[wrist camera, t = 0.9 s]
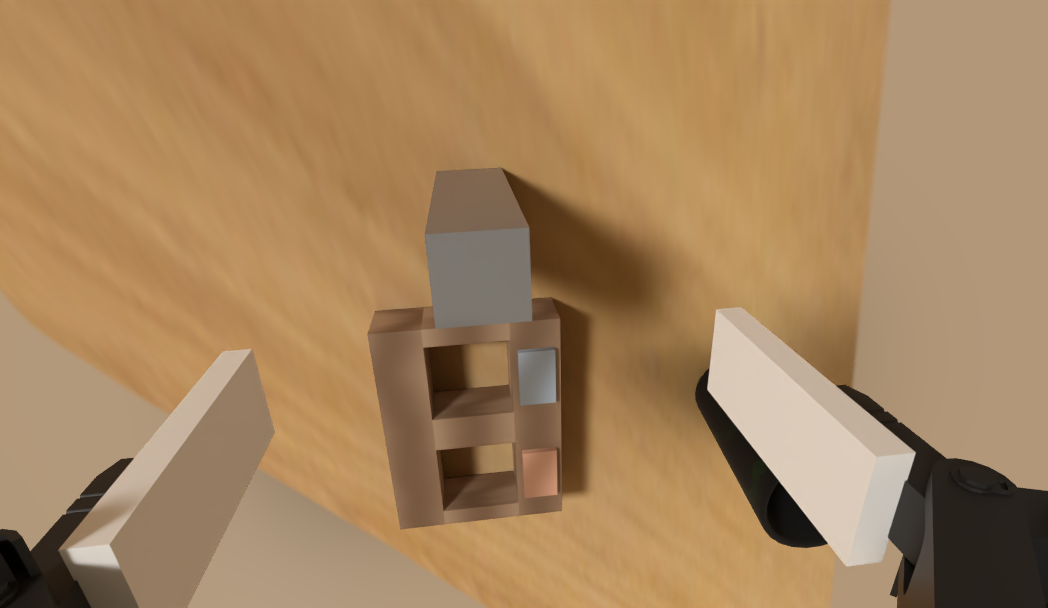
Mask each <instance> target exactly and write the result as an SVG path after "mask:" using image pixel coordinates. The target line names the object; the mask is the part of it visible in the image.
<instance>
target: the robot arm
mask: <svg viewBox="0 0 1048 608" xmlns="http://www.w3.org/2000/svg"><path fill="white" fill-rule="evenodd" d="M707 390H708V391H709V392H710V394H711V395H712V396H713V397H714V399H715V400H716V401H717V402H718V404H719V405H720V406H721V408H722V409H723V410H724V411H725V413H726V414H727V415H728V416H729V418H730V419H731V420H732V422H733V423H734V424H735V425H736V427H737V428H738V429H739V430H740V432H741V433H742V434H743V436H744V437H745V438H746V439H747V441H748V442H749V443H750V444H751V446H752V447H753V448H754V450H755V451H756V452H757V453H758V455H759V456H760V457H761V458H762V460H763V461H764V462H765V464H766V465H767V466H768V467H769V469H770V470H771V471H772V473H773V474H774V475H775V476H776V478H777V479H778V480H779V481H780V483H781V484H782V485H783V487H784V488H785V489H786V490H787V492H788V493H789V494H790V495H791V497H792V498H793V499H794V501H795V502H796V503H797V504H798V506H799V507H800V508H801V509H802V511H803V512H804V513H805V515H806V516H807V517H808V518H809V520H810V521H811V522H812V523H813V525H814V526H815V527H816V529H817V530H818V531H819V532H820V534H821V535H822V536H823V538H824V539H825V540H826V541H827V543H828V544H829V545H830V546H831V548H832V549H833V550H834V552H835V553H836V554H837V555H838V557H839V558H840V559H841V560H842V562H843V563H844V564H845V565H846V566H854V565H861V564H869V563H876V562H882V559H883V556H884V553H885V549H886V546H887V543H888V540H889V539H890V540H891V541H892V543H893V544H894V545H895V546H896V547H897V548H898V549H899V550H900V551H901V552H902V553H903V557H902V560H901V563H900V566H899V569H898V572H897V575H896V578H895V581H894V584H893V587H892V590H891V593H890V595H892V596H894V597H897V595H898V599H897V608H1048V491H1042V490H1034V489H1026V488H1017V487H1016V485H1015V484H1014V483H1012V482H1011V481H1010V480H1009V479H1008V478H1006V477H1005V476H1004V475H1002V474H1000V473H998V472H997V471H995V470H993V469H991V468H989V467H987V466H984V465H981V464H978V463H976V462H973V461H968V460H962V459H957V458H955V459H946V458H945V457H944V456H943V455H941V454H940V453H939V452H938V451H936V450H935V449H934V448H932V447H931V446H930V445H929V444H928V443H926V442H925V441H924V440H922V439H921V438H920V437H919V436H917V435H916V434H915V433H914V432H912V431H911V430H910V429H909V428H907V427H906V426H905V425H904V424H902V423H898V421H897V419H896V418H895V417H893V416H892V415H891V414H890V413H888V412H885V411H884V409H883V408H882V407H881V406H880V405H878V404H877V403H876V402H875V401H873V400H872V399H871V398H870V397H868V396H867V395H865V394H863V393H860V392H859V391H857V390H854V389H852V388H850V387H848V386H846V385H838V386H835V385H834V384H833V383H832V382H831V381H829V380H828V379H827V378H826V377H825V376H823V375H822V374H821V373H820V372H819V371H817V370H816V369H815V368H814V367H813V366H811V365H810V364H809V363H808V362H807V361H805V360H804V359H803V358H802V357H801V356H799V355H798V354H797V353H796V352H795V351H793V350H792V349H791V348H790V347H789V346H787V345H786V344H785V343H784V342H783V341H781V340H780V339H779V338H778V337H777V336H775V335H774V334H773V333H772V332H771V331H769V330H768V329H767V328H766V327H765V326H763V325H762V324H761V323H760V322H759V321H757V320H756V319H755V318H754V317H753V316H751V315H750V314H749V313H748V312H747V311H745V310H744V309H743V308H742V307H738V308H726V309H716V317H715V326H714V335H713V344H712V352H711V361H710V370H709V379H708V387H707ZM274 433H275V431H274V427H273V423H272V420H271V416H270V412H269V409H268V405H267V401H266V398H265V394H264V390H263V387H262V383H261V379H260V376H259V372H258V368H257V365H256V361H255V357H254V354H253V350H252V349H246V350H234V351H223V352H222V353H221V354H220V355H219V357H218V358H217V359H216V360H215V362H214V363H213V364H212V365H211V366H210V368H209V369H208V370H207V371H206V372H205V374H204V375H203V376H202V377H201V378H200V380H199V381H198V382H197V383H196V384H195V386H194V387H193V388H192V389H191V390H190V392H189V393H188V394H187V395H186V397H185V398H184V399H183V400H182V401H181V403H180V404H179V405H178V406H177V407H176V409H175V410H174V411H173V412H172V413H171V415H170V416H169V417H168V418H167V419H166V421H165V422H164V423H163V424H162V426H161V427H160V428H159V429H158V430H157V432H156V433H155V434H154V435H153V436H152V438H151V439H150V440H149V441H148V442H147V444H146V445H145V446H144V447H143V448H142V450H141V451H140V452H139V453H138V454H137V456H136V457H135V458H127V459H121V460H119V461H118V462H116V463H115V464H114V465H112V466H111V467H109V468H108V469H107V470H105V471H104V472H102V473H101V474H99V475H98V476H97V477H96V478H95V479H94V480H93V481H92V482H91V484H90V485H89V486H88V487H87V488H86V489H85V490H84V491H83V493H82V494H81V495H80V496H81V497H80V499H77V500H75V502H74V503H73V504H72V505H71V506H70V507H69V508H68V510H67V513H66V515H62V516H61V518H60V519H59V520H58V521H57V522H56V523H55V524H54V525H53V526H52V528H51V529H50V530H49V531H48V532H47V533H46V534H45V536H44V537H43V538H42V539H41V540H40V541H39V542H38V544H37V545H36V546H35V547H34V548H33V549H32V550H31V551H30V550H29V548H28V547H27V545H26V543H25V541H24V539H23V538H22V536H21V535H20V534H19V533H18V532H17V531H14V530H5V529H1V530H0V608H187V607H188V605H189V603H190V601H191V599H192V597H193V595H194V593H195V591H196V589H197V587H198V585H199V583H200V581H201V579H202V577H203V575H204V573H205V571H206V569H207V567H208V565H209V563H210V561H211V559H212V557H213V555H214V553H215V551H216V549H217V547H218V545H219V543H220V540H221V539H222V537H223V535H224V533H225V531H226V529H227V527H228V525H229V523H230V521H231V519H232V517H233V515H234V513H235V511H236V509H237V507H238V505H239V503H240V501H241V499H242V497H243V495H244V493H245V491H246V489H247V487H248V485H249V483H250V481H251V479H252V477H253V475H254V473H255V471H256V469H257V467H258V465H259V463H260V461H261V459H262V457H263V455H264V453H265V451H266V449H267V447H268V445H269V443H270V441H271V439H272V437H273V435H274Z"/></svg>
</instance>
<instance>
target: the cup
mask: <svg viewBox="0 0 1048 608" xmlns="http://www.w3.org/2000/svg"><path fill="white" fill-rule="evenodd" d="M709 370H710V369H708V370H707V371H706V372H705V373H704V375H703V376H702V377H701V378H700V380H699V382H698V384H697V388H696V392H695V397H696V402H697V405H698V407H699V409H700V411H701V413H702V415H703V417H704V419H705V420H706V422H707V424H708V426H709V428H710V430H711V432H712V434H713V435H714V437H715V439H716V441H717V443H718V445H719V447H720V448H721V450H722V452H723V454H724V456H725V458H726V460H727V461H728V463H729V465H730V467H731V469H732V471H733V473H734V475H735V476H736V478H737V480H738V482H739V484H740V486H741V488H742V489H743V491H744V493H745V495H746V497H747V499H748V501H749V502H750V504H751V506H752V508H753V510H754V512H755V514H756V516H757V517H758V519H759V521H760V523H761V525H762V527H763V529H764V530H765V531H766V532H767V534H768V535H769V536H770V537H771V538H772V539H774V540H776V541H777V542H779V543H781V544H784V545H787V546H791V547H801V548H809V547H817V546H822V545H825V544H828V543H827V541H826V540H825V539H824V538H823V536H822V535H821V534H820V532H819V531H818V530H817V529H816V527H815V526H814V525H813V523H812V522H811V521H810V520H809V518H808V517H807V516H806V515H805V513H804V512H803V511H802V509H801V508H800V507H799V506H798V504H797V503H796V502H795V501H794V499H793V498H792V497H791V495H790V494H789V493H788V492H787V490H786V489H785V488H784V487H783V485H782V484H781V483H780V481H779V480H778V479H777V478H776V476H775V475H774V474H773V473H772V471H771V470H770V469H769V467H768V466H767V465H766V464H765V462H764V461H763V460H762V458H761V457H760V456H759V455H758V453H757V452H756V451H755V450H754V448H753V447H752V446H751V444H750V443H749V442H748V441H747V439H746V438H745V437H744V436H743V434H742V433H741V432H740V430H739V429H738V428H737V427H736V425H735V424H734V423H733V422H732V420H731V419H730V418H729V416H728V415H727V414H726V413H725V411H724V410H723V409H722V408H721V406H720V405H719V404H718V402H717V401H716V400H715V399H714V397H713V396H712V395H711V394H710V392H709V391H708V390H707V387H708V379H709Z"/></svg>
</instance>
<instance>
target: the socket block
mask: <svg viewBox="0 0 1048 608" xmlns="http://www.w3.org/2000/svg"><path fill="white" fill-rule="evenodd" d="M367 335H368V340H369V346H370V352H371V358H372V364H373V370H374V376H375V382H376V388H377V394H378V399H379V405H380V411H381V417H382V423H383V429H384V435H385V441H386V447H387V453H388V458H389V464H390V470H391V476H392V482H393V488H394V494H395V500H396V506H397V512H398V517H399V523H400V529H408V528H417V527H425V526H434V525H443V524H451V523H460V522H469V521H478V520H486V519H495V518H504V517H512V516H521V515H530V514H539V513H547V512H556V511H562V455H561V353H560V317H559V315H558V312H557V310H556V307H555V305H554V303H553V300H552V298H551V297H550V298H537V299H532V321H527V322H515V323H503V324H490V325H478V326H466V327H454V328H442V329H435V320H434V312H433V307H422V308H409V309H396V310H384V311H375V313H374V316H373V319H372V322H371V325H370V328H369V331H368V334H367ZM496 341H507V354H508V372H509V385H504V386H493V387H482V388H471V389H460V390H449V391H439V392H434V387H433V379H432V370H431V362H430V354H429V347H438V346H449V345H461V344H473V343H485V342H496ZM503 443H512V446H513V464H514V471H508V472H498V473H489V474H480V475H470V476H461V477H452V478H444V470H443V462H442V454H441V450H445V449H454V448H464V447H474V446H484V445H494V444H503Z"/></svg>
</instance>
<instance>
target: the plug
mask: <svg viewBox="0 0 1048 608" xmlns="http://www.w3.org/2000/svg"><path fill="white" fill-rule="evenodd" d="M425 241H426V249H427V258H428V267H429V276H430V285H431V294H432V303H433V312H434V320H435V329H442V328H454V327H466V326H478V325H490V324H503V323H515V322H527V321H532V295H531V264H530V233H529V226H528V224H527V222H526V219H525V217H524V215H523V213H522V211H521V209H520V207H519V204H518V202H517V200H516V198H515V196H514V194H513V192H512V189H511V187H510V185H509V183H508V181H507V179H506V177H505V175H504V172H503V170H502V168H489V169H471V170H454V171H437V172H436V177H435V183H434V188H433V193H432V199H431V204H430V209H429V215H428V220H427V225H426V231H425Z"/></svg>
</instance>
